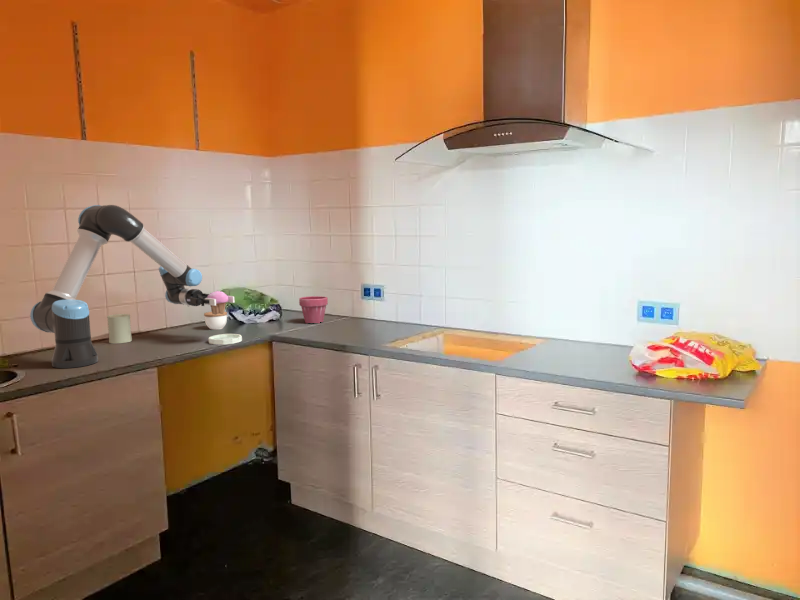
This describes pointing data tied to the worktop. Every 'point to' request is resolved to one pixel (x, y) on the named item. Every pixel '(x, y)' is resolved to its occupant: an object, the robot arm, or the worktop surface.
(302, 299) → the plant pot
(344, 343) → the worktop surface
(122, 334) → the can
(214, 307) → the cupcake
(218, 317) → the lidded jar
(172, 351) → the worktop surface
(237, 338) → the dish
